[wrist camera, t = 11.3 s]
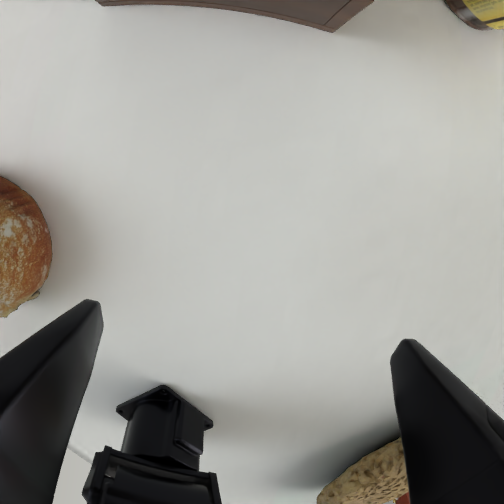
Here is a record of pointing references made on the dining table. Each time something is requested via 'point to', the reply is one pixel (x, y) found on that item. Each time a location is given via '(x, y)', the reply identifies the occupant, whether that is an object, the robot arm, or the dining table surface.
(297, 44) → the dining table surface
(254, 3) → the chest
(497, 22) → the sauce bottle
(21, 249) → the bread roll
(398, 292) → the dining table surface
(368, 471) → the sponge
